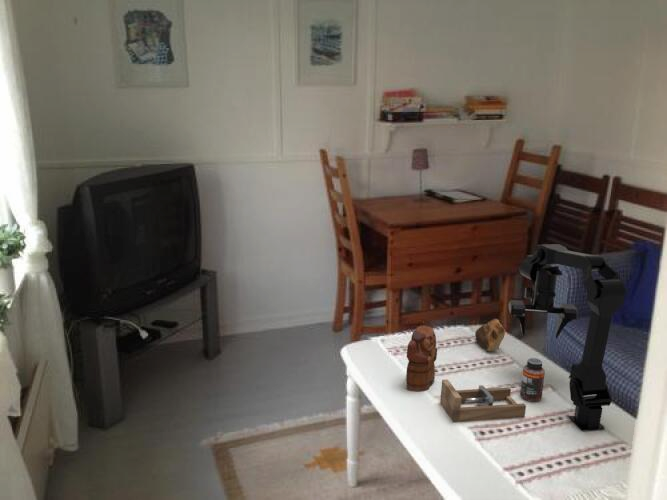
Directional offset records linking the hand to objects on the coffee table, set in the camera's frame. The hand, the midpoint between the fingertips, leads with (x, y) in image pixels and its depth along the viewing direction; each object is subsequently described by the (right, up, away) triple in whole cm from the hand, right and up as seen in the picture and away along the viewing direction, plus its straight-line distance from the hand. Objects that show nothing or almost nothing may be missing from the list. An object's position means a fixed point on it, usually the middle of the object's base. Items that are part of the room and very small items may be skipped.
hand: (539, 336), depth 177 cm
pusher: (-23, -17, -15) cm, 32 cm away
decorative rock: (-9, -8, +25) cm, 27 cm away
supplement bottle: (-5, -16, -7) cm, 19 cm away
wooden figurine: (-35, -14, -2) cm, 38 cm away
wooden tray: (-21, -18, -15) cm, 31 cm away
